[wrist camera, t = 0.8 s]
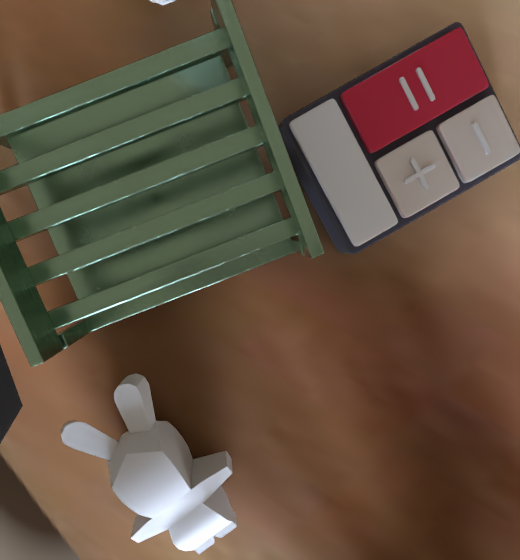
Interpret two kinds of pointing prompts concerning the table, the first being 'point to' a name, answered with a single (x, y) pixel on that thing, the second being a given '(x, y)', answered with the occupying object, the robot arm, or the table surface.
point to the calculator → (399, 140)
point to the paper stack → (162, 1)
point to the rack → (147, 187)
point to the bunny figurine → (159, 472)
